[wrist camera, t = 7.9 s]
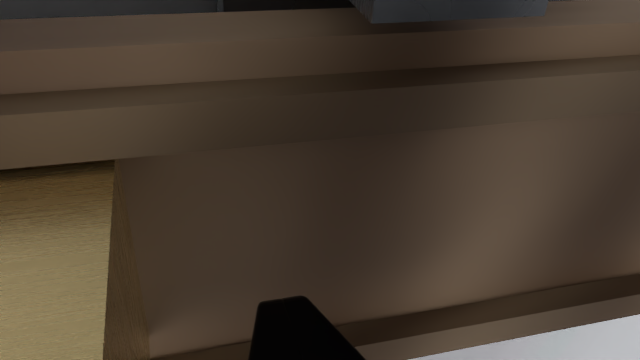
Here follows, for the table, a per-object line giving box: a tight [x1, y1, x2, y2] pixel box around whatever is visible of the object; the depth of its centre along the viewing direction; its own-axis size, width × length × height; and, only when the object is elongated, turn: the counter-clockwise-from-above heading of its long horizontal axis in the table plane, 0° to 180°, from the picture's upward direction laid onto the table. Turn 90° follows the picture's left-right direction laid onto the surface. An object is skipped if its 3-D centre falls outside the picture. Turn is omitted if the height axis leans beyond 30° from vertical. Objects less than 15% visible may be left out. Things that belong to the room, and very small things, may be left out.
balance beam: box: [0, 0, 640, 360], centre depth 11 cm, size 28×8×2 cm, turn 87°
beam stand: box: [217, 0, 549, 24], centre depth 10 cm, size 16×15×5 cm
